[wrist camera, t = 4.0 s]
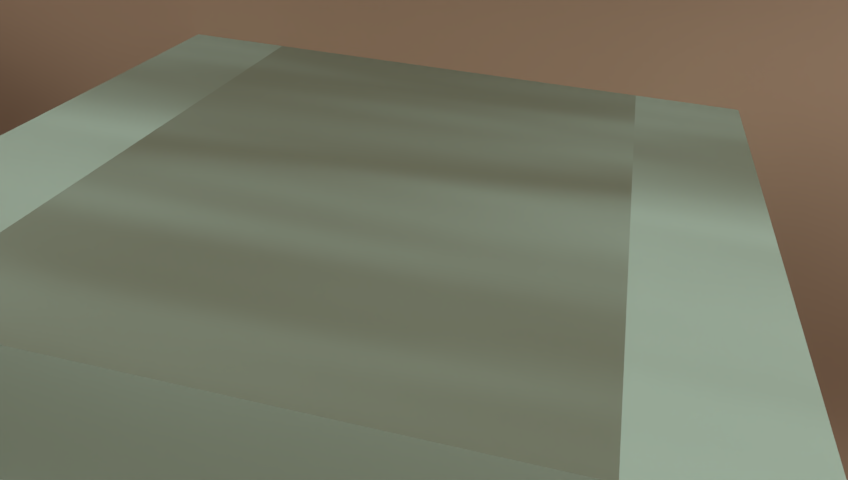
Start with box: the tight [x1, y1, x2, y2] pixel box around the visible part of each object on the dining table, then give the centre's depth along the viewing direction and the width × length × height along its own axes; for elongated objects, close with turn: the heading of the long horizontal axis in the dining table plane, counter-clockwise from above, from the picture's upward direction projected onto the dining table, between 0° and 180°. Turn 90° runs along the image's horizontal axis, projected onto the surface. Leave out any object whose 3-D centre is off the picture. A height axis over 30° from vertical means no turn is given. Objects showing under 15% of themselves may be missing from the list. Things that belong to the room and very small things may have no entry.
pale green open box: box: [0, 34, 847, 480], centre depth 8 cm, size 6×6×6 cm
